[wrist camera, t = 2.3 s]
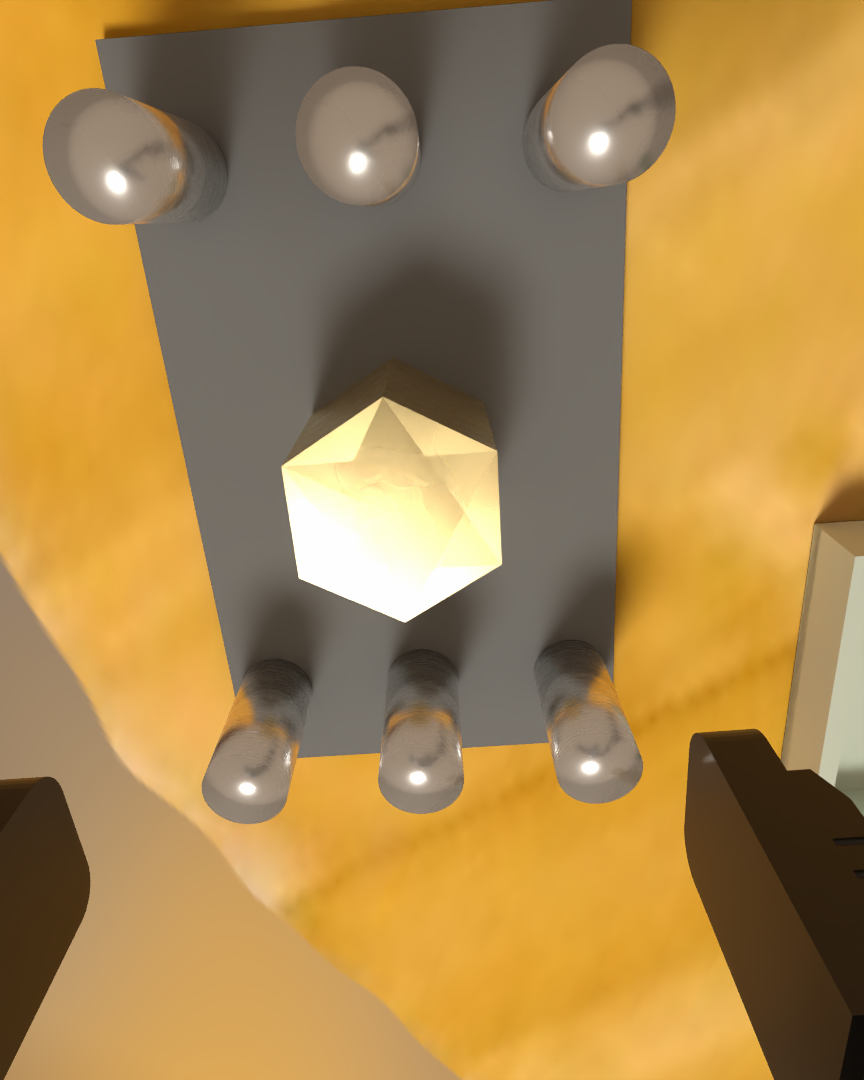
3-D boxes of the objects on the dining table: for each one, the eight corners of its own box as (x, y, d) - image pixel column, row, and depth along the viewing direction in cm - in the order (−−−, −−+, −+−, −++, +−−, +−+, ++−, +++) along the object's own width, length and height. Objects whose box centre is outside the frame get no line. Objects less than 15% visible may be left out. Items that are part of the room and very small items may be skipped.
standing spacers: (124, 122, 19) (27, 93, 14) (617, 81, 19) (679, 38, 14) (248, 719, 26) (210, 826, 22) (603, 697, 26) (641, 801, 21)
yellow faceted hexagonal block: (305, 363, 21) (271, 405, 17) (480, 350, 21) (495, 388, 17) (330, 548, 24) (307, 628, 19) (489, 537, 24) (504, 615, 19)
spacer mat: (103, 44, 19) (95, 39, 18) (626, -2, 18) (632, -7, 18) (252, 751, 27) (248, 760, 27) (608, 729, 27) (611, 738, 27)
